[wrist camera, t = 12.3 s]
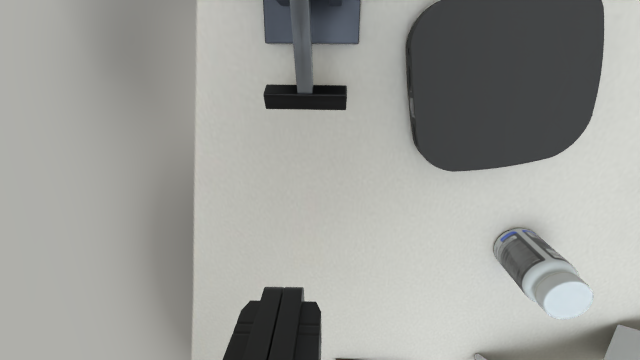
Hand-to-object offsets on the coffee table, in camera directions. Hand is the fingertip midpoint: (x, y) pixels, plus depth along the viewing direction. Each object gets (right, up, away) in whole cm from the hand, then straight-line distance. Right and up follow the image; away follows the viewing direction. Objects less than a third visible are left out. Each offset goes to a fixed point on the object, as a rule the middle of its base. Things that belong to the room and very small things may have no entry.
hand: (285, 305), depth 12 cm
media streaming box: (+17, +14, +16) cm, 27 cm away
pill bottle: (+22, -2, +22) cm, 32 cm away
